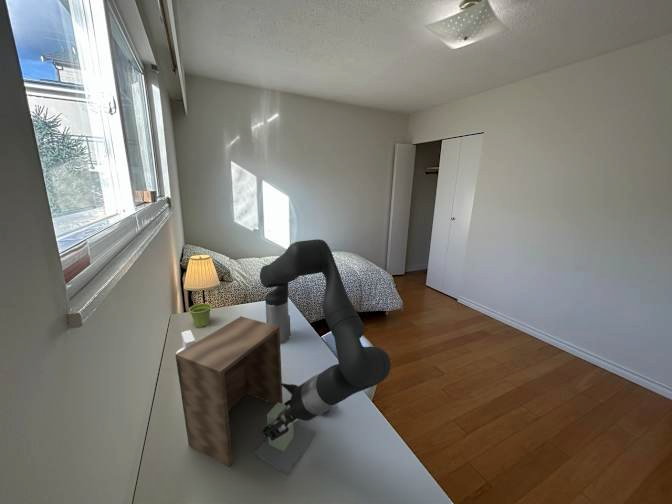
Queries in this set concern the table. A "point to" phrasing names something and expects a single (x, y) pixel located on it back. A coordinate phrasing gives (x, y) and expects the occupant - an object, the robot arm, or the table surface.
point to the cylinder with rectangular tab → (186, 340)
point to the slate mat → (287, 449)
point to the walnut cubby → (227, 380)
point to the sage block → (285, 438)
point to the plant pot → (200, 314)
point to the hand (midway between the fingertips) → (275, 419)
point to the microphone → (291, 388)
